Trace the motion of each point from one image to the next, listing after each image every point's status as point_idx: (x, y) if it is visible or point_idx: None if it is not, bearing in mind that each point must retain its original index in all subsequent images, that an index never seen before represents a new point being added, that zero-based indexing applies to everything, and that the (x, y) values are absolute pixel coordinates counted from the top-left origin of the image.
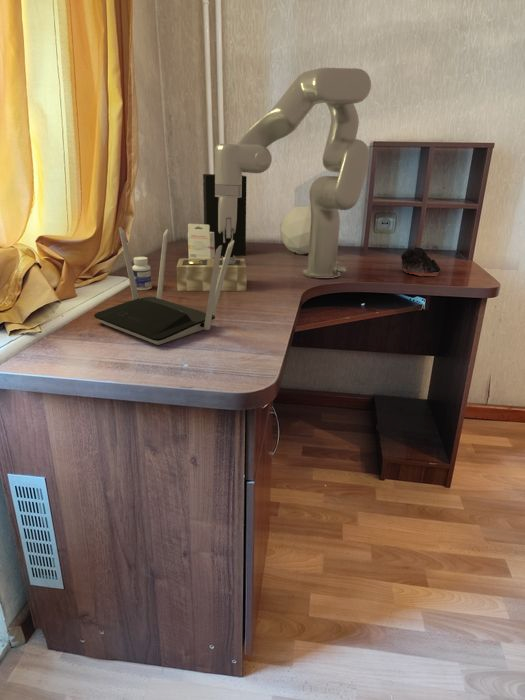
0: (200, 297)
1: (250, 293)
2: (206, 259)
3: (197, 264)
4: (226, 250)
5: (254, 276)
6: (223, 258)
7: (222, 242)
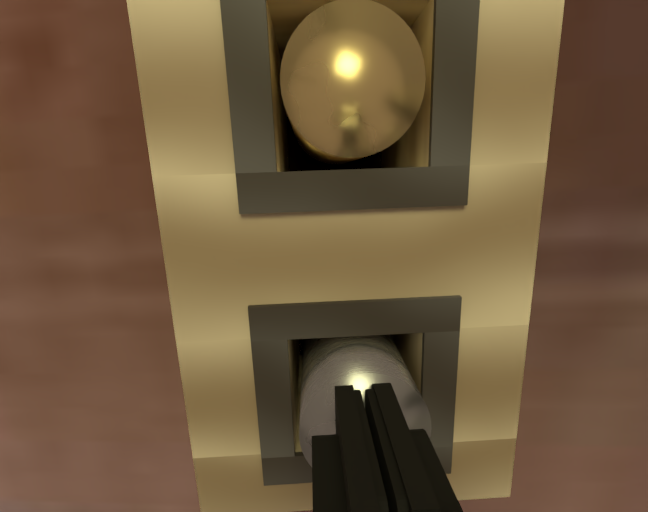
0: (71, 169)
1: None
2: (503, 198)
3: (230, 121)
4: (312, 475)
5: (537, 438)
6: (323, 381)
7: (426, 509)
